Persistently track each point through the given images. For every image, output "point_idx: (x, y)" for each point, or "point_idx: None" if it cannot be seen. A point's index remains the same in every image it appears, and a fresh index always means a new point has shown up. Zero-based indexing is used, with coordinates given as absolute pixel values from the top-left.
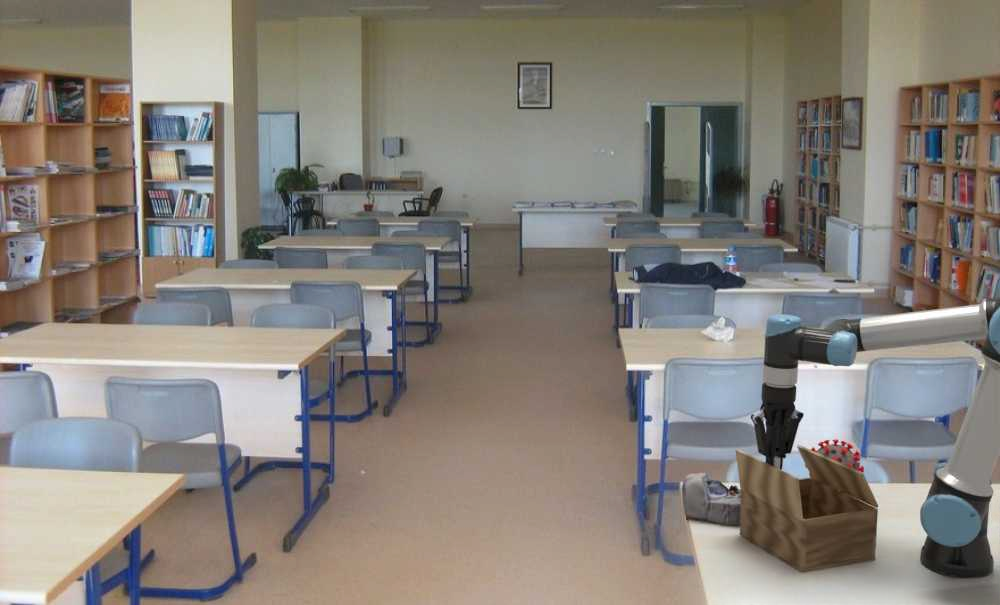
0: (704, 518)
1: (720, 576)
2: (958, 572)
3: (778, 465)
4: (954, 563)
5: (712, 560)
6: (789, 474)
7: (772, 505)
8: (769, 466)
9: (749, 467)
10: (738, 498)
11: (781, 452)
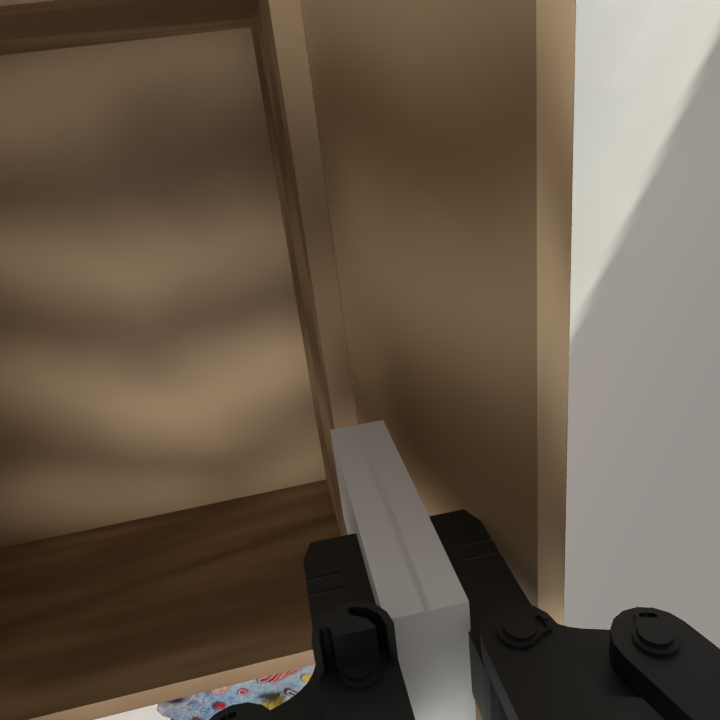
0: None
1: (641, 84)
2: None
3: (388, 545)
4: None
5: (576, 258)
6: (543, 56)
7: (347, 360)
8: (564, 475)
9: None
10: (289, 686)
11: (386, 700)
